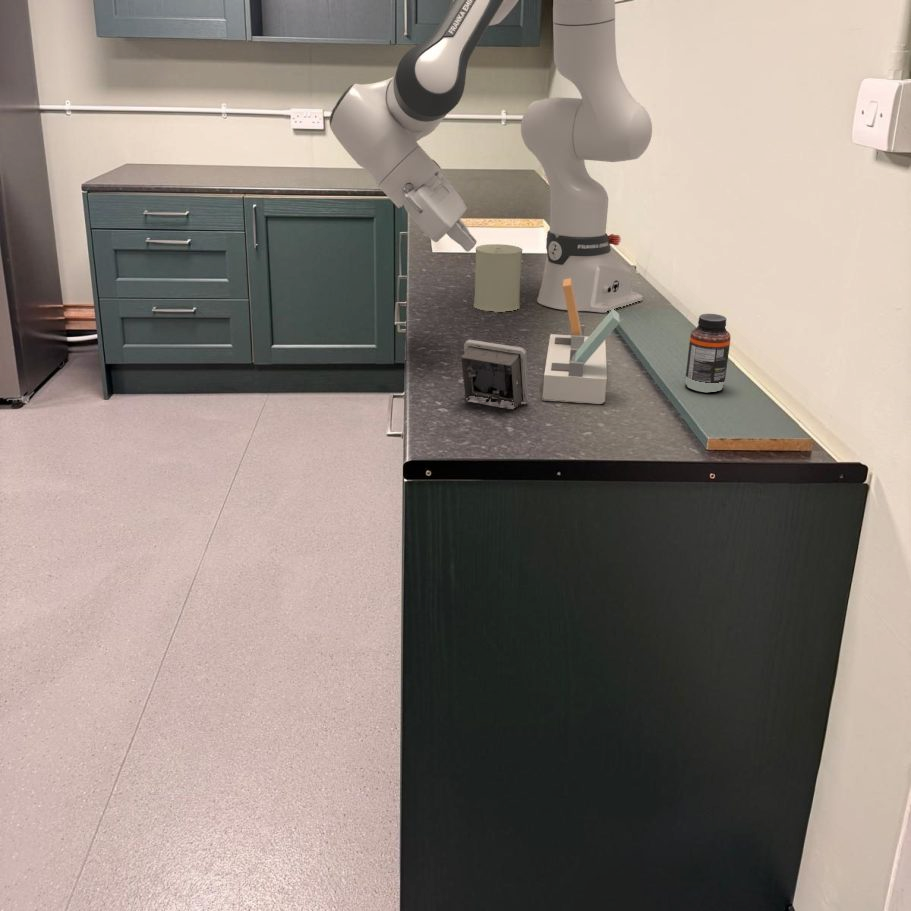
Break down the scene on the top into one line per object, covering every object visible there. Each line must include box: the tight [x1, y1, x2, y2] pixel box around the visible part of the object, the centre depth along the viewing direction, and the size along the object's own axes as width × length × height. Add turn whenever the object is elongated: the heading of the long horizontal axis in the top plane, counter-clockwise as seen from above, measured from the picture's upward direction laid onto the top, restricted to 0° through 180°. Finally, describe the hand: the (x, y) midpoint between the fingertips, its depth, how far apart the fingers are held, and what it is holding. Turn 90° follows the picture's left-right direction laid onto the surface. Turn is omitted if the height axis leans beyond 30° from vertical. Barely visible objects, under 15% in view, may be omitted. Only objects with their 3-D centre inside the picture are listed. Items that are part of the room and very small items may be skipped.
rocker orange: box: [563, 278, 582, 336], centre depth 154 cm, size 1×5×10 cm, turn 172°
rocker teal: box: [572, 309, 621, 365], centre depth 141 cm, size 1×5×10 cm
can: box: [473, 243, 523, 313], centre depth 190 cm, size 9×9×12 cm
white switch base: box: [542, 324, 608, 402], centre depth 153 cm, size 9×28×6 cm, turn 172°
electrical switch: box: [460, 339, 530, 407], centre depth 138 cm, size 9×5×9 cm, turn 65°
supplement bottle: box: [685, 313, 731, 383], centre depth 147 cm, size 6×6×11 cm
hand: (472, 247), depth 153 cm, fingers closed
